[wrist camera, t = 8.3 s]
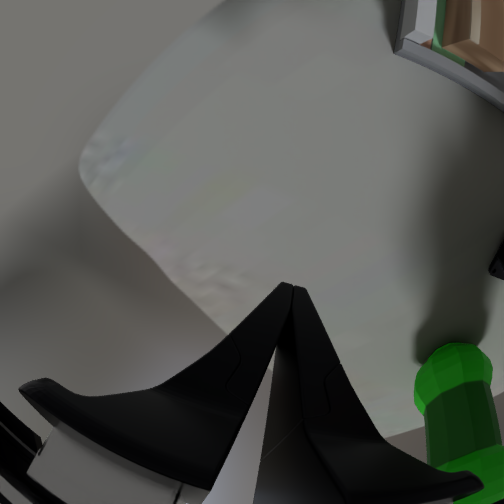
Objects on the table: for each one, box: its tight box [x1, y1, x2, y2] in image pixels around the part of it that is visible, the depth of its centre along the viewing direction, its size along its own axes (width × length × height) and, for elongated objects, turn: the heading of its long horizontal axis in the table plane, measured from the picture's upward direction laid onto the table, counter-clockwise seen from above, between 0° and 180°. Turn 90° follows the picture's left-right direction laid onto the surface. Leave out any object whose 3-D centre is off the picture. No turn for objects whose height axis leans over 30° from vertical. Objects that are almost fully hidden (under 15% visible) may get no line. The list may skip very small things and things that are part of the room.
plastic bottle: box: [414, 342, 504, 504], centre depth 15 cm, size 10×10×25 cm
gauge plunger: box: [441, 0, 504, 72], centre depth 7 cm, size 4×7×4 cm, turn 171°
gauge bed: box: [394, 0, 504, 112], centre depth 8 cm, size 14×8×4 cm, turn 81°
